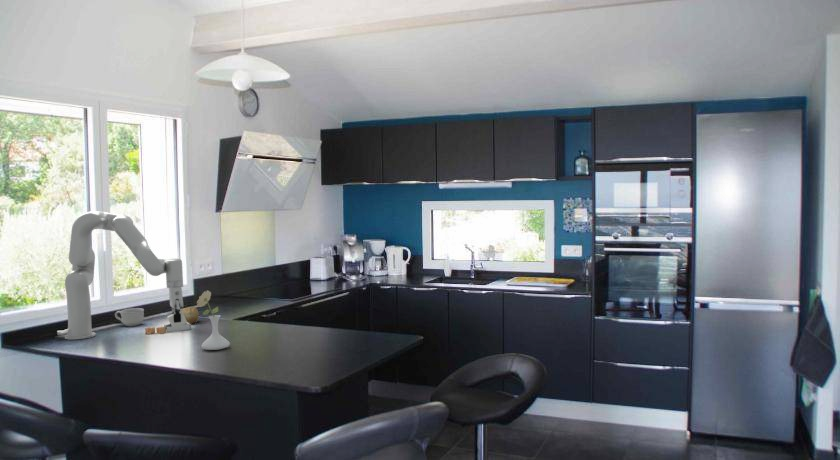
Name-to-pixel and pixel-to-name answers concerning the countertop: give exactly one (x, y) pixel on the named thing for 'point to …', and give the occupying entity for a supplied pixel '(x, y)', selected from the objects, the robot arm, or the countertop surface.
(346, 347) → the countertop surface
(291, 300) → the countertop surface
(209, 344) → the flower in vase
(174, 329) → the holder
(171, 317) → the connector
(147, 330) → the clip
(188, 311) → the bread roll
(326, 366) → the countertop surface
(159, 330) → the clip
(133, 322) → the teacup
